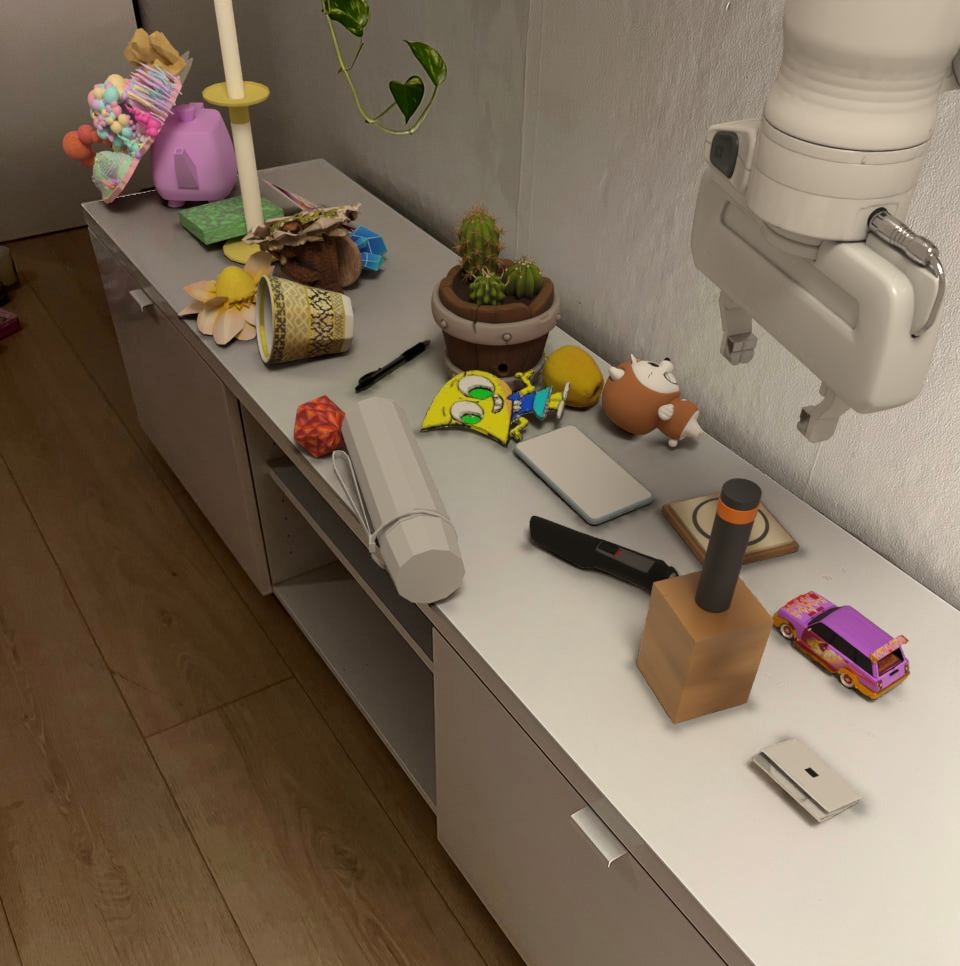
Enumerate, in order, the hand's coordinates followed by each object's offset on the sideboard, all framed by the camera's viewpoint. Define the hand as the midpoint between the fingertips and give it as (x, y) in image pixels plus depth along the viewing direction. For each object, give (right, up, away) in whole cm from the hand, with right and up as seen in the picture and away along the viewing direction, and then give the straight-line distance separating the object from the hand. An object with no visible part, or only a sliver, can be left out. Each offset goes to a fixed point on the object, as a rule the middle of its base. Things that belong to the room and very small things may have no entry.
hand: (772, 395), depth 64 cm
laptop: (+6, -28, +14) cm, 32 cm away
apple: (-5, +12, +49) cm, 50 cm away
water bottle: (-31, +7, +40) cm, 52 cm away
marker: (-1, -13, +14) cm, 19 cm away
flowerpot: (-17, +16, +54) cm, 59 cm away
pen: (-30, +18, +55) cm, 65 cm away
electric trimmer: (-7, -9, +31) cm, 34 cm away
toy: (-10, +9, +45) cm, 47 cm away
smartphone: (-8, +1, +41) cm, 42 cm away
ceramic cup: (-36, +23, +58) cm, 72 cm away
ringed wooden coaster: (+6, -5, +36) cm, 36 cm away
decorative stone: (-34, +6, +39) cm, 52 cm away
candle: (-50, +40, +77) cm, 100 cm away
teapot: (-62, +52, +89) cm, 120 cm away
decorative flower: (-47, +28, +58) cm, 80 cm away
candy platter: (-67, +59, +82) cm, 121 cm away
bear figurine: (-42, +38, +60) cm, 83 cm away
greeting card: (-48, +48, +84) cm, 108 cm away
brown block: (-1, -20, +21) cm, 29 cm away
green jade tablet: (-55, +46, +78) cm, 106 cm away
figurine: (+5, +7, +43) cm, 44 cm away
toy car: (+13, -17, +24) cm, 32 cm away
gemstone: (-38, +34, +66) cm, 83 cm away
